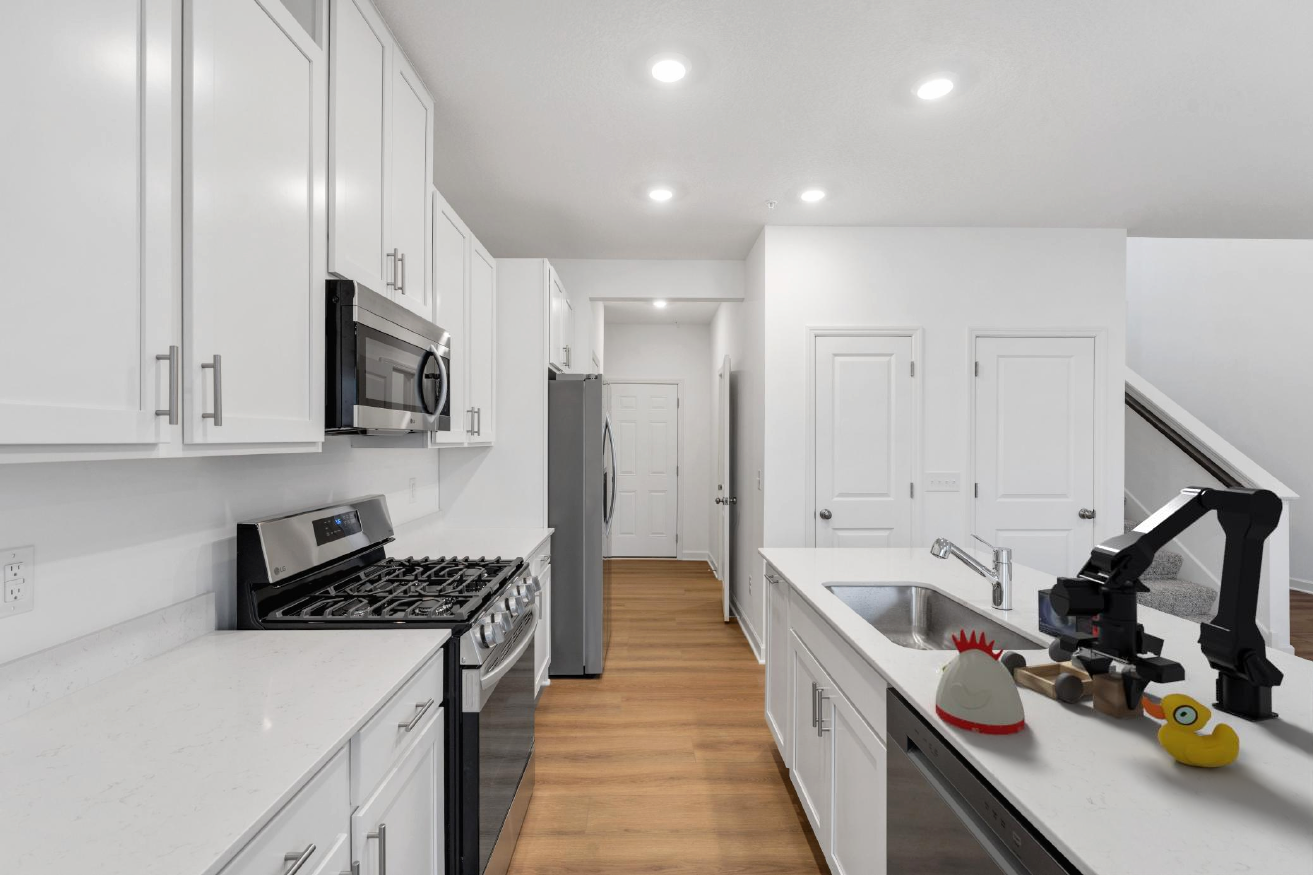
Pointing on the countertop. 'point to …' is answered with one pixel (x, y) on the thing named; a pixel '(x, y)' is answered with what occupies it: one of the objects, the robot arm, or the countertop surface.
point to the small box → (1059, 619)
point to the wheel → (1058, 652)
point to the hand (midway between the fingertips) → (1118, 704)
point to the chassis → (1054, 676)
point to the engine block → (1113, 696)
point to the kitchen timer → (979, 690)
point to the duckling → (1192, 732)
